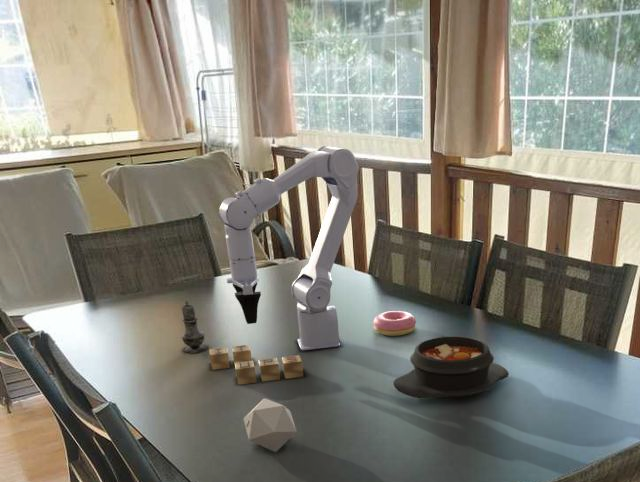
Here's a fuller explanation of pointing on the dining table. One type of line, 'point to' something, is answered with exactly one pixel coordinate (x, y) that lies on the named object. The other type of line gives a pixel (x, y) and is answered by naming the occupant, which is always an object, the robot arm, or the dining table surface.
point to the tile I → (219, 358)
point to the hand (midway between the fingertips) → (250, 318)
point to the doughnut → (394, 323)
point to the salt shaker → (192, 330)
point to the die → (270, 425)
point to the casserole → (450, 369)
